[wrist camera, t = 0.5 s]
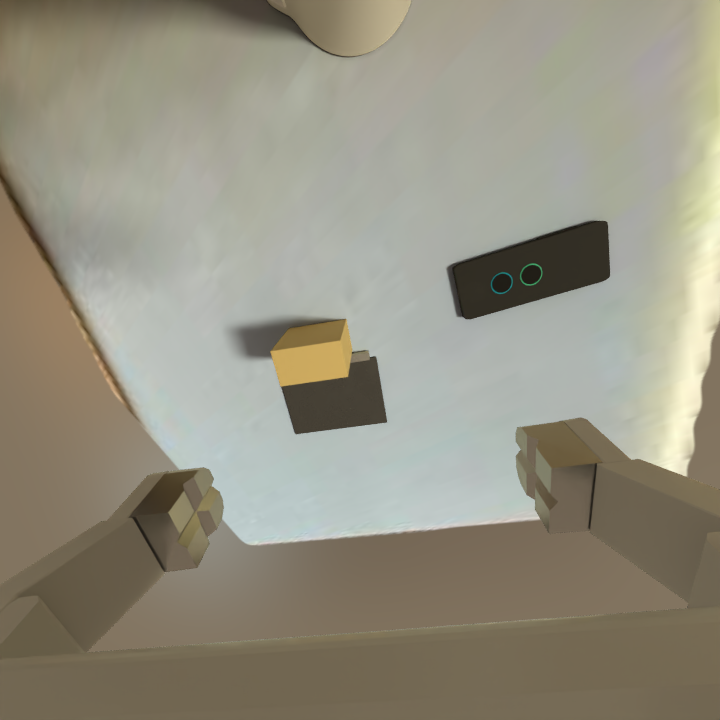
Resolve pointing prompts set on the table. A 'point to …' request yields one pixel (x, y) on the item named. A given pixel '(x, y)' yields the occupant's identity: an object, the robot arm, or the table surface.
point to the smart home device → (534, 270)
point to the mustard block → (313, 353)
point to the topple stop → (338, 399)
